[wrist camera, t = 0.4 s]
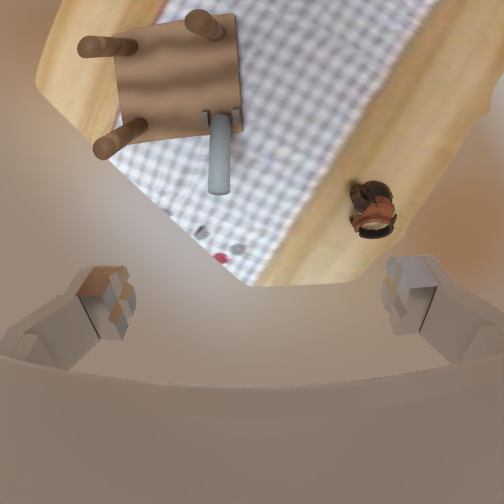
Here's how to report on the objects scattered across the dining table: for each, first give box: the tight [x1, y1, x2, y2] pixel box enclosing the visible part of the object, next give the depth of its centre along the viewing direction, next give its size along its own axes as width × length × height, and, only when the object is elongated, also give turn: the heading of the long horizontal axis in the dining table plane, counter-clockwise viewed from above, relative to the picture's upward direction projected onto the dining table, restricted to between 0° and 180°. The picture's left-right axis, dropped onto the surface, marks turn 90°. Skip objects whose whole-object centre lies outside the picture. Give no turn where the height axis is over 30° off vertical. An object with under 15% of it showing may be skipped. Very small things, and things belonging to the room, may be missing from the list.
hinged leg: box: [208, 115, 231, 195], centre depth 44 cm, size 3×3×12 cm
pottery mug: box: [350, 181, 397, 239], centre depth 55 cm, size 12×10×8 cm
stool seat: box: [77, 9, 243, 160], centre depth 38 cm, size 20×20×16 cm
